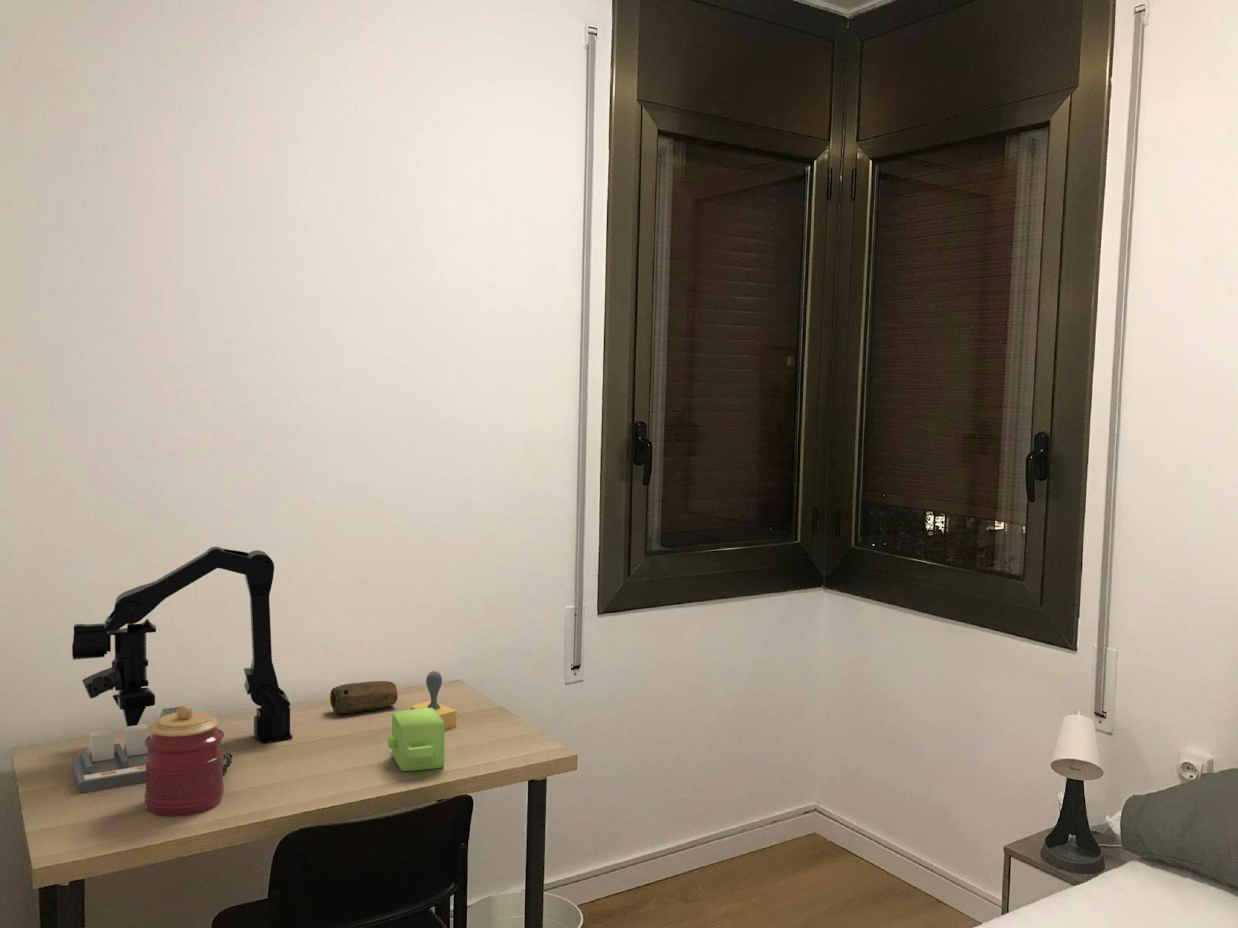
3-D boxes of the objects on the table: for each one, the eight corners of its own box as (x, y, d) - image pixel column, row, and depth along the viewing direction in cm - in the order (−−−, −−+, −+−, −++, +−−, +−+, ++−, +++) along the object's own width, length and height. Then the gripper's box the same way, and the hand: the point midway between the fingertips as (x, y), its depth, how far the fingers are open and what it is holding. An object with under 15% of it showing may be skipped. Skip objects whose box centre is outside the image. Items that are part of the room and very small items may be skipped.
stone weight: (339, 719, 229) (340, 690, 229) (327, 712, 235) (327, 683, 235) (400, 708, 239) (400, 680, 238) (387, 701, 244) (387, 673, 244)
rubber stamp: (457, 726, 227) (457, 673, 226) (435, 731, 223) (436, 677, 222) (430, 716, 234) (431, 664, 233) (409, 721, 229) (410, 668, 229)
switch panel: (160, 753, 205) (160, 736, 205) (174, 776, 193) (174, 758, 193) (70, 767, 196) (70, 749, 196) (79, 793, 184) (79, 774, 184)
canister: (231, 808, 179) (231, 709, 178) (150, 823, 172) (150, 720, 171) (215, 784, 190) (215, 690, 189) (139, 797, 183) (138, 700, 182)
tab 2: (145, 748, 202) (145, 723, 201) (148, 753, 199) (147, 728, 199) (124, 751, 200) (124, 726, 199) (126, 756, 197) (126, 731, 197)
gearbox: (379, 749, 211) (379, 704, 210) (427, 744, 214) (427, 699, 214) (396, 779, 194) (397, 731, 194) (447, 773, 198) (448, 725, 197)
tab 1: (111, 753, 198) (111, 728, 198) (114, 758, 196) (113, 732, 196) (90, 757, 196) (89, 731, 196) (91, 761, 194) (91, 736, 194)
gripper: (80, 649, 207) (81, 724, 208) (91, 670, 191) (91, 752, 192) (140, 643, 213) (140, 716, 214) (155, 663, 198) (155, 742, 198)
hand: (131, 731), depth 205 cm, fingers closed
